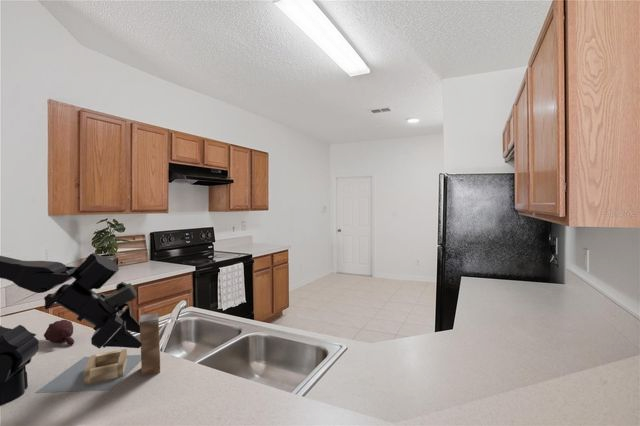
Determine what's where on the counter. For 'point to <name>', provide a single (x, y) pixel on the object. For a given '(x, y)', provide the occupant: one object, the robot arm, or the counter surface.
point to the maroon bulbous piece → (60, 332)
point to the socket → (105, 366)
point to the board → (75, 379)
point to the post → (150, 344)
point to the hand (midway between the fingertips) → (141, 338)
